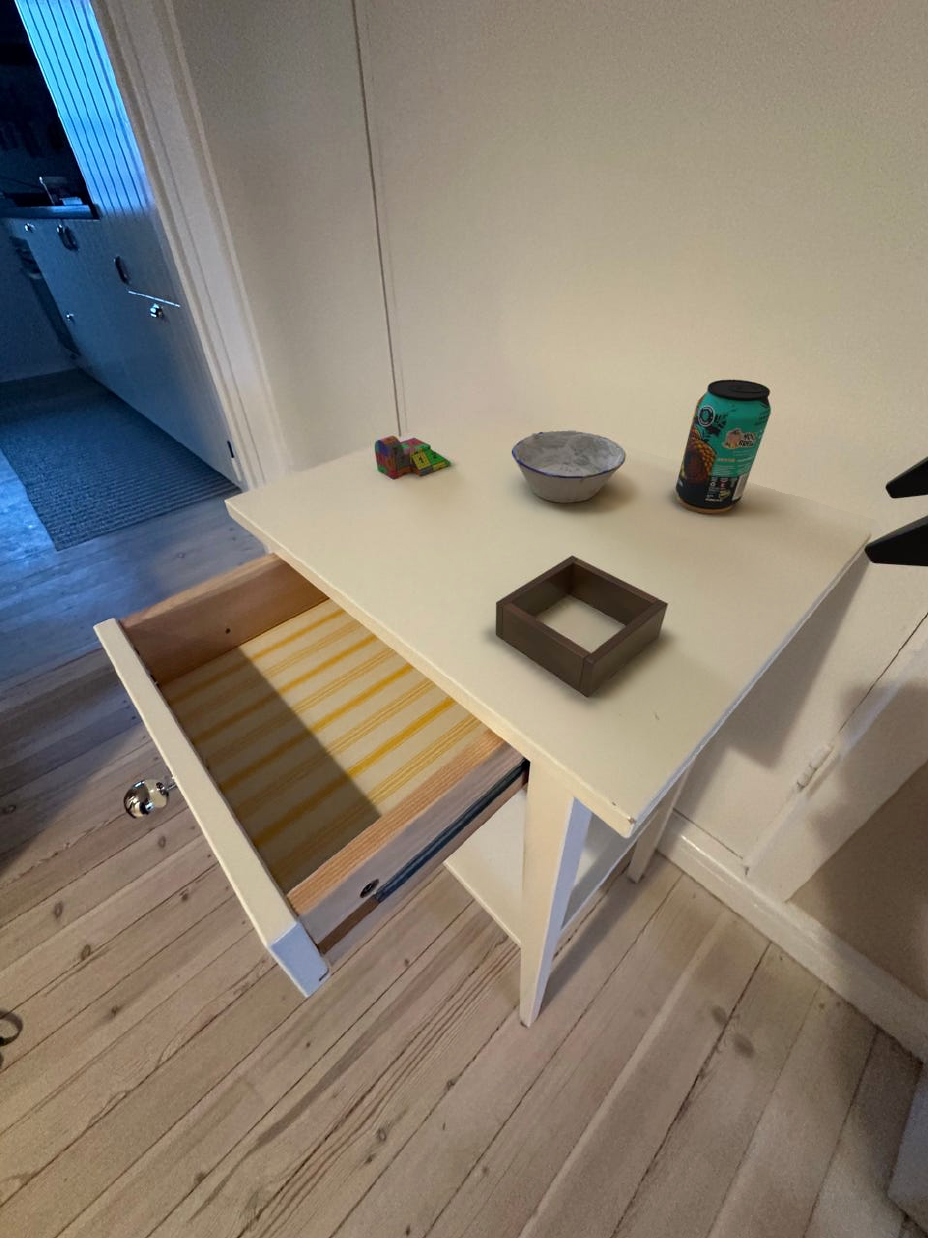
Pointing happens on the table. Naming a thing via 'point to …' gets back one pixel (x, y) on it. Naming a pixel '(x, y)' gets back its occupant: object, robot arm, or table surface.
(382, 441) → the numbered block arch
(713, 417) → the beverage can
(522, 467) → the bowl
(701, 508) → the coaster
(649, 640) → the tray
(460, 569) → the table surface
